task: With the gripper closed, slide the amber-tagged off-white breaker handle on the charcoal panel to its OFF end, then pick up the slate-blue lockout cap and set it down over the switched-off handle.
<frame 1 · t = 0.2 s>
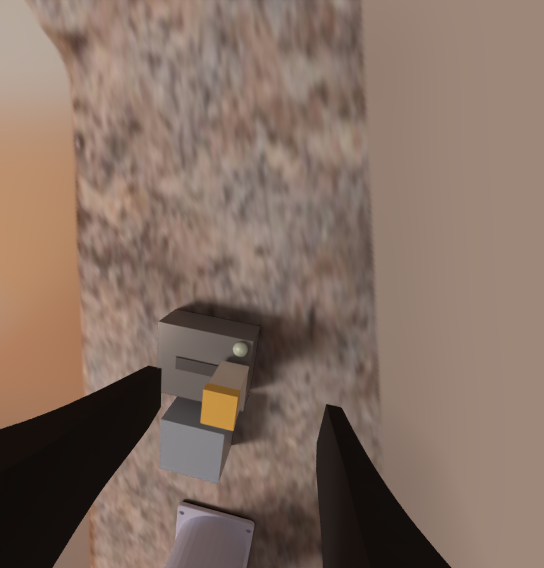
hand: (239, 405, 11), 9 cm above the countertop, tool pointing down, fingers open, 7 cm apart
breaker handle: (226, 392, 17), point 4 cm above the countertop, slide at 0.0 cm
lockout cap: (207, 417, 23), on the countertop
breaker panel: (213, 350, 21), on the countertop
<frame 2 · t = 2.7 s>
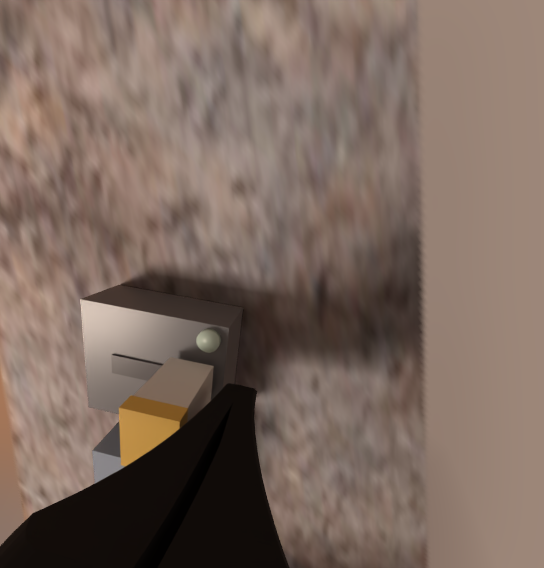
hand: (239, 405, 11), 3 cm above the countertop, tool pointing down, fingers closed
breaker handle: (172, 409, 10), point 4 cm above the countertop, slide at 0.4 cm, touching gripper
lockout cap: (174, 441, 17), on the countertop
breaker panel: (177, 345, 15), on the countertop
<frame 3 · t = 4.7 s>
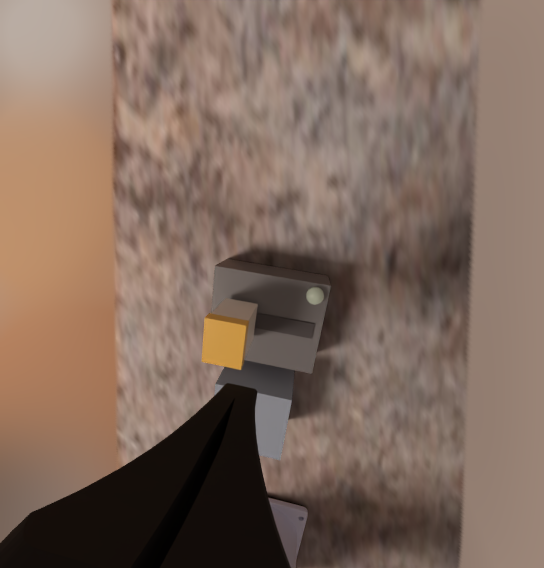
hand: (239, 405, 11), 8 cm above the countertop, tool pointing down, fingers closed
breaker handle: (232, 330, 14), point 4 cm above the countertop, slide at 4.1 cm
lockout cap: (258, 388, 20), on the countertop
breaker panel: (270, 307, 18), on the countertop
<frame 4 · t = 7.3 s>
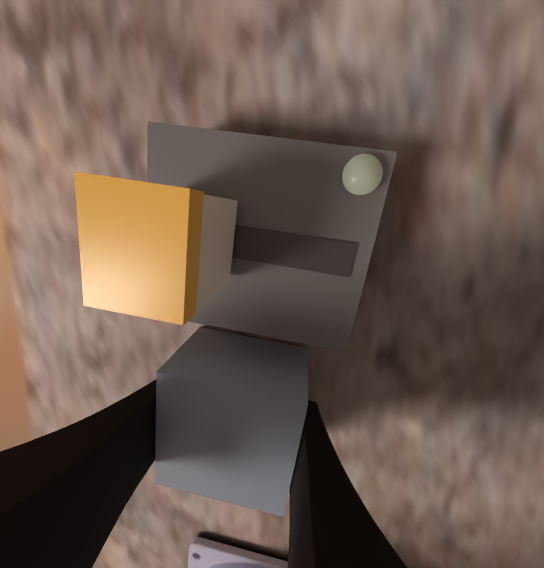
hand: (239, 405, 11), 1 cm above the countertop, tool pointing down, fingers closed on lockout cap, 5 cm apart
breaker handle: (175, 243, 6), point 4 cm above the countertop, slide at 4.1 cm
lockout cap: (246, 384, 12), on the countertop, touching gripper
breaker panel: (266, 237, 10), on the countertop
when the fingers open (5 cm above the countertop, at t = 10.0 s): lockout cap stays where it is, resting on breaker handle.
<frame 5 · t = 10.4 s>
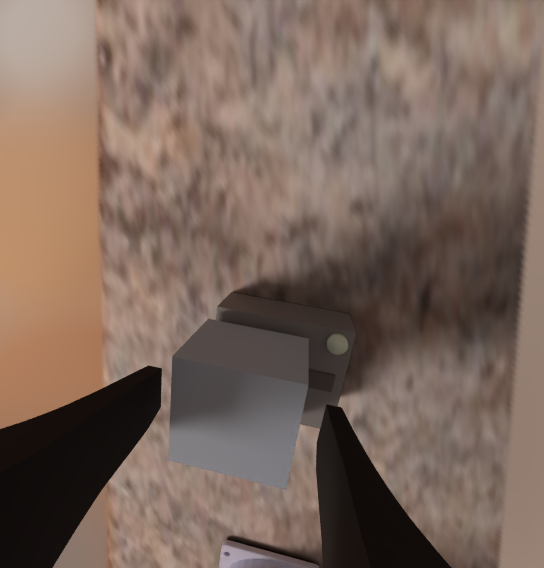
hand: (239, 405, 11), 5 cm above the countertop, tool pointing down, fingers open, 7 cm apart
lockout cap: (251, 372, 13), point 3 cm above the countertop, touching breaker handle
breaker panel: (281, 347, 16), on the countertop
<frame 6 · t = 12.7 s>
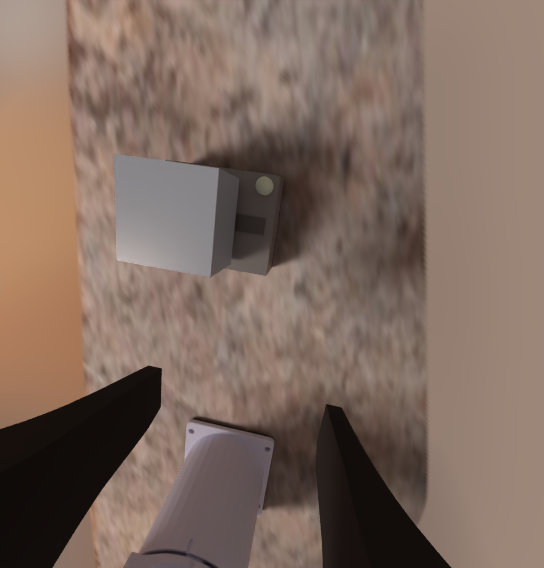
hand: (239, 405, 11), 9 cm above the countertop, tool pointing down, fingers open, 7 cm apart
lockout cap: (195, 217, 16), point 3 cm above the countertop, touching breaker handle
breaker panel: (229, 218, 18), on the countertop
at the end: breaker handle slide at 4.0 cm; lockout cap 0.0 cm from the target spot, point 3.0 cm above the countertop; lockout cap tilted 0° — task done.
